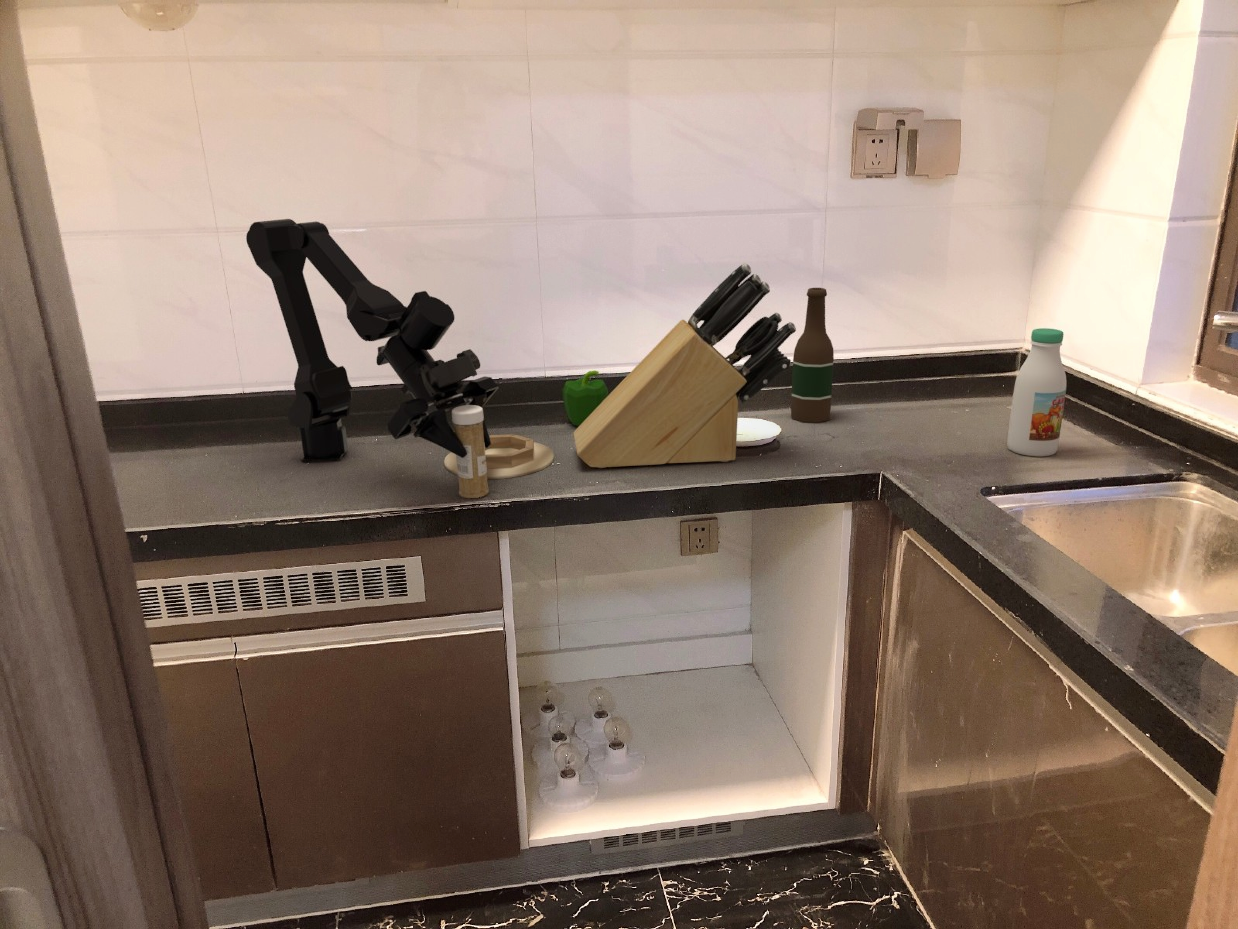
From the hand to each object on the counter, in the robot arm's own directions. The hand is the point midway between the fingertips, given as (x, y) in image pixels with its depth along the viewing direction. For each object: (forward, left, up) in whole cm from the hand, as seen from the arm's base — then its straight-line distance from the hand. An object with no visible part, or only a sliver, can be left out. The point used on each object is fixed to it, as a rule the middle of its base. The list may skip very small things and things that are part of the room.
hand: (477, 451), depth 135 cm
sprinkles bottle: (-1, +1, -7) cm, 7 cm away
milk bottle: (+90, +10, -7) cm, 91 cm away
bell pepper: (+17, +35, -7) cm, 39 cm away
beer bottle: (+59, +33, -7) cm, 68 cm away
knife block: (+32, +15, -7) cm, 36 cm away
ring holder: (+2, +16, -7) cm, 17 cm away
